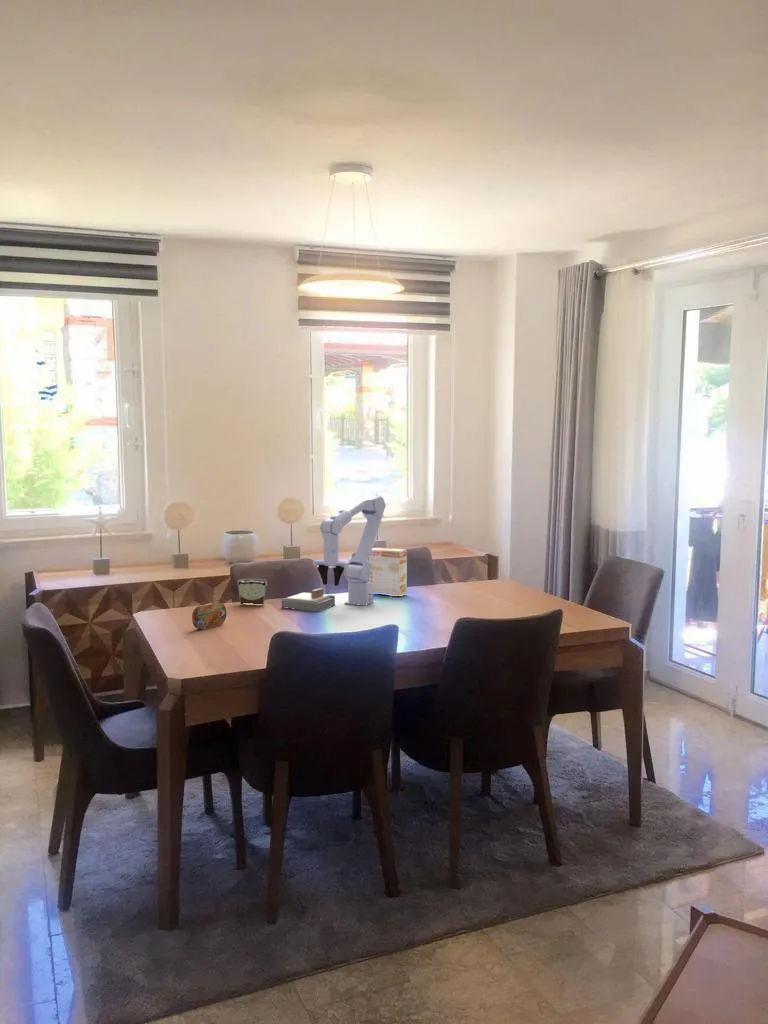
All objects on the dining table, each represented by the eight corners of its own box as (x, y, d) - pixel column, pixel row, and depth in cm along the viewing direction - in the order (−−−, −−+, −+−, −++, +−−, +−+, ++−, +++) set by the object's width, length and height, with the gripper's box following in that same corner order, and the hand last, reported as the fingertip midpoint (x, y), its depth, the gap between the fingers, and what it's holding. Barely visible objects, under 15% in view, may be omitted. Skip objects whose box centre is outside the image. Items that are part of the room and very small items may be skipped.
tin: (197, 631, 295) (196, 607, 294) (190, 630, 297) (190, 606, 296) (227, 624, 308) (227, 600, 307) (220, 622, 309) (220, 599, 309)
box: (334, 605, 342) (334, 595, 342) (317, 611, 330) (317, 601, 329) (299, 601, 349) (299, 592, 349) (281, 608, 336) (281, 598, 336)
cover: (329, 597, 342) (329, 587, 342) (313, 602, 331) (313, 592, 330) (303, 594, 347) (303, 585, 347) (286, 600, 336) (286, 590, 335)
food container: (270, 603, 346) (270, 578, 345) (267, 606, 340) (267, 580, 339) (240, 602, 348) (240, 577, 347) (236, 605, 341) (236, 580, 341)
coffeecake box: (407, 595, 366) (407, 549, 364) (398, 597, 360) (399, 551, 358) (377, 591, 374) (377, 546, 372) (368, 594, 367) (368, 548, 366)
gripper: (309, 550, 333) (309, 585, 334) (342, 552, 327) (342, 587, 328) (318, 548, 339) (318, 582, 340) (351, 550, 333) (351, 585, 334)
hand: (330, 584), depth 334 cm, fingers open, 4 cm apart
